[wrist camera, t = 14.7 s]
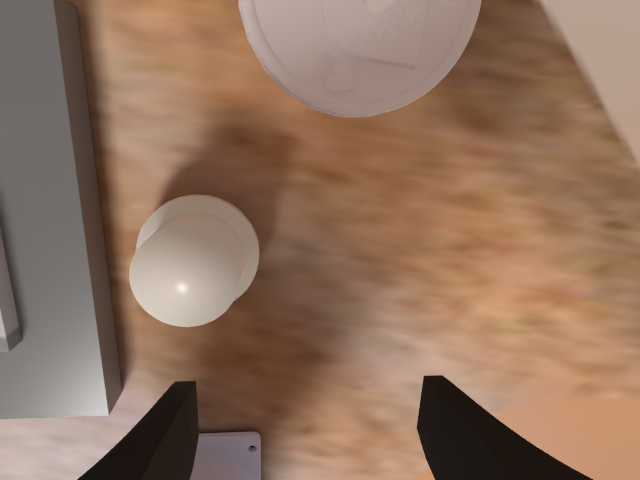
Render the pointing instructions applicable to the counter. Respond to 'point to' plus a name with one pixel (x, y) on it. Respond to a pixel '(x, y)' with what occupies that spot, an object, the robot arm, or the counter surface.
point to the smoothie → (358, 49)
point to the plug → (193, 260)
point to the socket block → (50, 224)
